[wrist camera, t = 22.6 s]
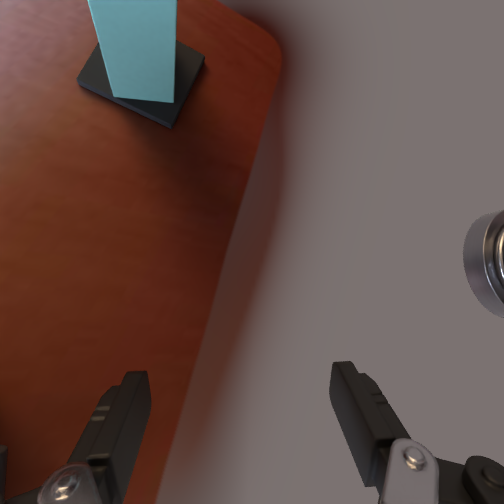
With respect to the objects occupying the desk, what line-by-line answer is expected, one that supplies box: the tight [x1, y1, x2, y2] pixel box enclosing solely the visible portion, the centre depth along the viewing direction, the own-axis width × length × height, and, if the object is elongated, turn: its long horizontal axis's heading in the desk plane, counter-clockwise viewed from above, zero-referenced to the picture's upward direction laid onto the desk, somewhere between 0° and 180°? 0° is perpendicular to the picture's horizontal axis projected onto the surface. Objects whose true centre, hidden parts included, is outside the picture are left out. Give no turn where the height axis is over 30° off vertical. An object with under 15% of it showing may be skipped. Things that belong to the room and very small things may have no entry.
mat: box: [77, 40, 205, 129], centre depth 22 cm, size 7×7×1 cm
